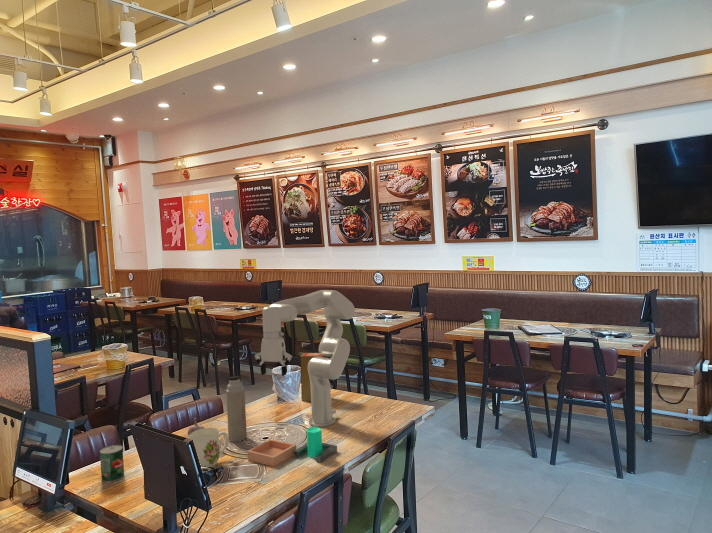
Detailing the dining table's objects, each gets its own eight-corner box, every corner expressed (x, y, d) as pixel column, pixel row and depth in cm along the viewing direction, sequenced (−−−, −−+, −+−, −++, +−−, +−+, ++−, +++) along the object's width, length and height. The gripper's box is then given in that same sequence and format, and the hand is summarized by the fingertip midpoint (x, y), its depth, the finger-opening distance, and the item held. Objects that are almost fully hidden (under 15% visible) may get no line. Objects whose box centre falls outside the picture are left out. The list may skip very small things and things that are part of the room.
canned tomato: (122, 480, 192) (120, 451, 191) (99, 483, 190) (97, 454, 189) (125, 471, 200) (124, 443, 199) (103, 474, 197) (101, 446, 197)
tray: (270, 447, 218) (270, 439, 217) (296, 453, 210) (296, 444, 210) (247, 459, 206) (247, 451, 206) (274, 466, 198) (273, 457, 198)
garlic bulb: (184, 436, 234) (183, 419, 234) (196, 431, 241) (195, 414, 240) (196, 439, 231) (195, 421, 230) (208, 433, 237) (207, 416, 237)
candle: (307, 452, 211) (306, 423, 210) (322, 451, 211) (321, 422, 211) (307, 458, 205) (306, 429, 204) (322, 457, 205) (321, 427, 205)
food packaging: (329, 396, 286) (327, 352, 285) (324, 401, 277) (322, 356, 276) (306, 396, 289) (304, 352, 288) (301, 401, 279) (299, 356, 278)
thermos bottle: (249, 435, 232) (246, 374, 231) (242, 442, 224) (239, 379, 223) (233, 434, 234) (230, 374, 232) (225, 441, 226) (222, 379, 225)
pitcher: (236, 460, 206) (234, 426, 205) (196, 476, 193) (194, 440, 192) (221, 453, 213) (219, 420, 213) (181, 468, 200) (179, 434, 199)
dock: (311, 446, 217) (311, 440, 217) (337, 451, 210) (336, 445, 210) (294, 456, 207) (293, 450, 206) (320, 463, 200) (320, 456, 200)
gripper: (294, 334, 221) (295, 373, 221) (258, 333, 226) (259, 371, 226) (287, 337, 213) (288, 377, 214) (250, 336, 218) (251, 375, 219)
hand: (273, 374), depth 220 cm, fingers open, 9 cm apart
